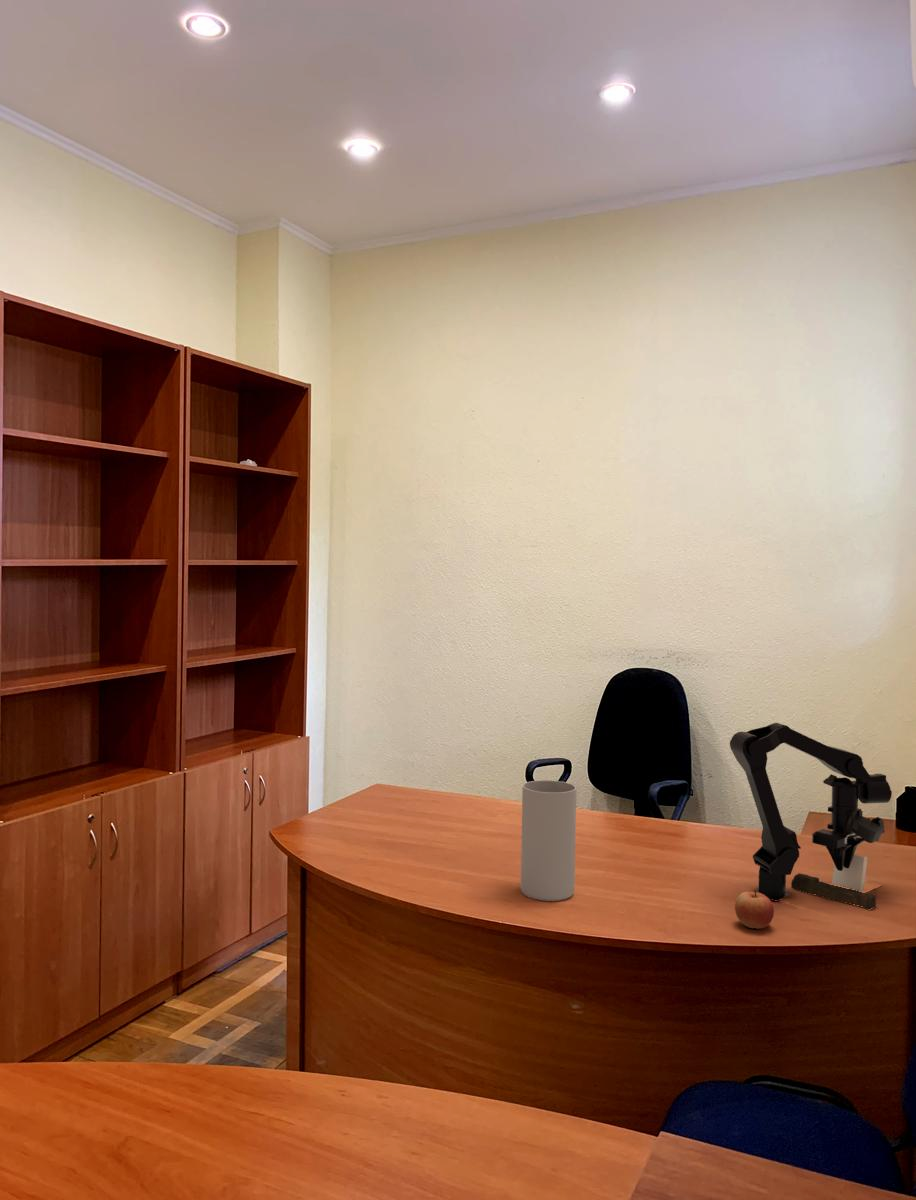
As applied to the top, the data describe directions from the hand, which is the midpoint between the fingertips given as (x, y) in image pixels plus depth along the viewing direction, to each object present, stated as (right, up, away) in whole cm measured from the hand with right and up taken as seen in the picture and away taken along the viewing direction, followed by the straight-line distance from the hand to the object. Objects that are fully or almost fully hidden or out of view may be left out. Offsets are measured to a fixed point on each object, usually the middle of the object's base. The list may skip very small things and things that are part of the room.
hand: (843, 869), depth 215 cm
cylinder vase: (-70, -5, -3) cm, 71 cm away
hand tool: (-5, -6, -5) cm, 10 cm away
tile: (+2, -5, +2) cm, 6 cm away
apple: (-28, -6, -21) cm, 36 cm away
